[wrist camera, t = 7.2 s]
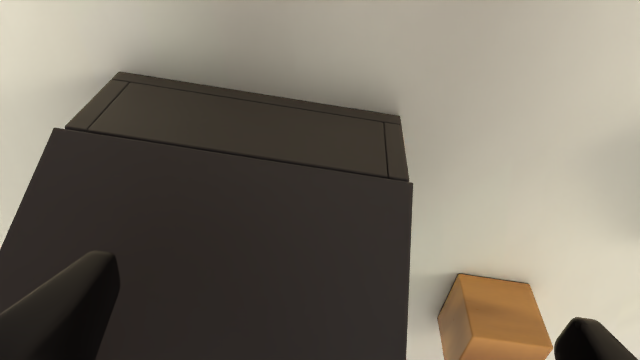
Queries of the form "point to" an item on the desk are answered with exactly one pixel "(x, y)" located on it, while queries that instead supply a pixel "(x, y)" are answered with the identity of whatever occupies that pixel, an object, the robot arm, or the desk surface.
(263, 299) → the lid
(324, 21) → the desk surface
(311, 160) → the dark grey box
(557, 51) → the desk surface
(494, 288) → the orange-brown cube
